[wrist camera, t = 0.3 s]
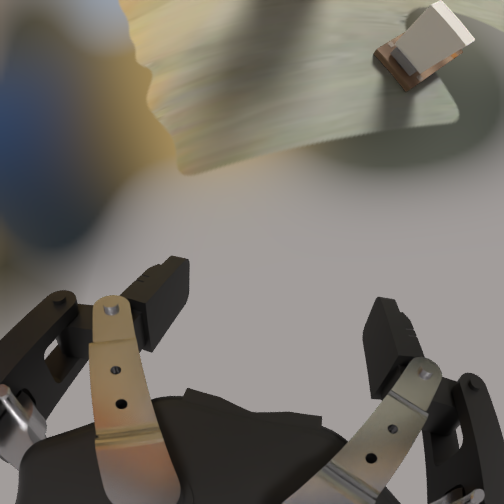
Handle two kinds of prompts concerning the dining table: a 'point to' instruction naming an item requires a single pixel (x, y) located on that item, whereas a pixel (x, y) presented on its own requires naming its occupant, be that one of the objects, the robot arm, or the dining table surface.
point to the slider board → (399, 72)
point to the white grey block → (431, 39)
